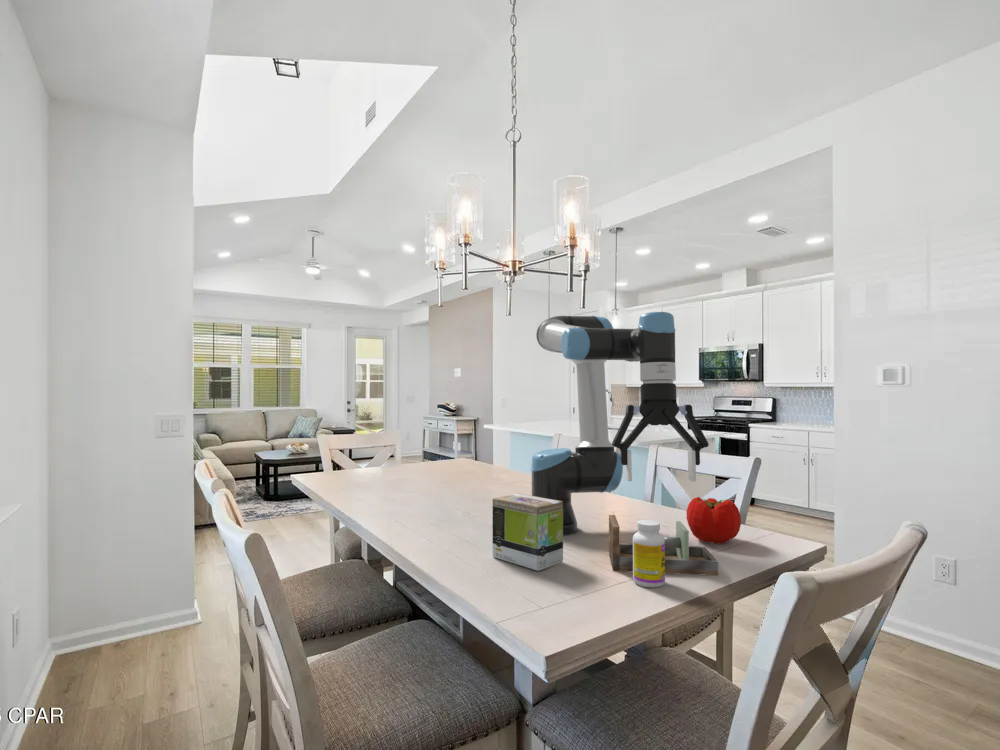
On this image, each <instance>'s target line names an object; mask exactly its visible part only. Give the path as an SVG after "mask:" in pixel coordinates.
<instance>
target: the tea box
mask: <svg viewBox="0 0 1000 750" xmlns="http://www.w3.org/2000/svg"><path fill="white" fill-rule="evenodd" d="M492 557H493V558H496V559H499V560H502V561H505V562H507V563H511V564H514V565H518V566H521V567H524V568H528V569H530V570H534V571H537V572H539V571H542V570H545V569H548V568H551V567H553V566H556V565H558V564H561V563H563V560H564V535H563V501H559V500H553V499H547V498H541V497H536V496H532V495H531V494H530V495H529V494H523V493H515V494H514V493H513V494H509V495H504V496H503V495H502V496H498V497H493V498H492Z"/></svg>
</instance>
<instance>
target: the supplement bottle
mask: <svg viewBox="0 0 1000 750" xmlns="http://www.w3.org/2000/svg"><path fill="white" fill-rule="evenodd" d="M636 527H637V529H638V531H637V532H636V533H634V534H633V535H632V544H633V572H632V580H633V582H634V583H635V584H636V585H638V586H641V587H645V588H654V589H655V588H660V587H663V586H664V585H665V583H666V573H665V540H664V537H665V536H663V535H662V534H661V533H660V530H661V523H660V522H658V521H657V520H654V519H653V520H652V519H641V520H640V519H639V520H638V521H637V522H636Z"/></svg>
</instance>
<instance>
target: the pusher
mask: <svg viewBox="0 0 1000 750" xmlns="http://www.w3.org/2000/svg"><path fill="white" fill-rule="evenodd" d="M689 533H690V532H689V530H688V529H687V527H686V526H685V525H684V524H683V522H682V521H680V520H675V537H672V536H663V537H664V540H665V548H676V554H677V556H678V557H679V559H689V546H690V545H689V543H690V535H689Z"/></svg>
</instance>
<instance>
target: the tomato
mask: <svg viewBox="0 0 1000 750" xmlns="http://www.w3.org/2000/svg"><path fill="white" fill-rule="evenodd" d="M741 518H742V517H741V513H740V509H739V508H738V507H737V504H735V502H734V501H732V500H731V499H720V500H717V499H716V498H712V497H708V498H707V499H705V498H701V497H700V496H697V497H694V498H692V499H691V500H690V502H689V503H688V504H687V509H686V521H687V525H688V528H689V529H690V531H691V533H692V536H694V537H695V538H696V539H698V540H699V541H702V542H704V543H705V542H706V543H707V544H716V545H721V544H723V545H724V544H726V543H728V542H729V541H730V540H732V539H734V538H736V537H737V535H738V534H739V532H740V530H741V527H742V526H741V525H742V519H741Z"/></svg>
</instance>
